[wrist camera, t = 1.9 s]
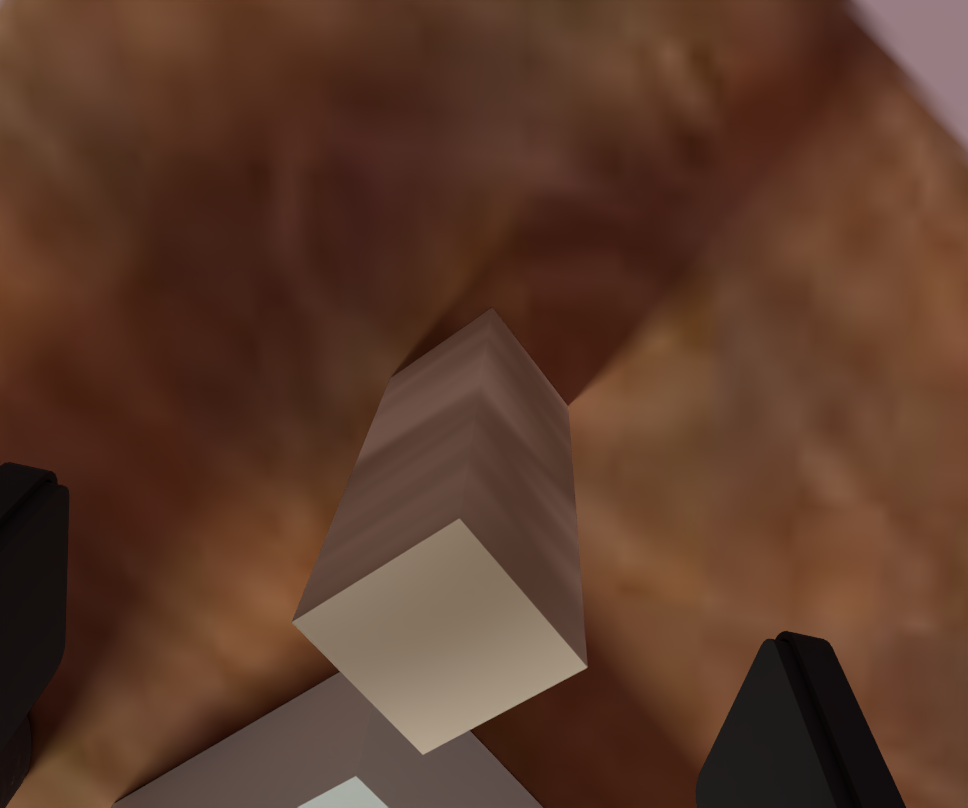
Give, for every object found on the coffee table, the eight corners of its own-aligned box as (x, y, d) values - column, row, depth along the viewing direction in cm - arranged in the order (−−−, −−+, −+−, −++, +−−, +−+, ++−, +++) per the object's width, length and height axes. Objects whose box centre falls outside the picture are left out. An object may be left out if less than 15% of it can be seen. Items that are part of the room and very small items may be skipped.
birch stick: (568, 406, 21) (587, 667, 12) (466, 470, 22) (422, 755, 13) (492, 307, 20) (459, 517, 12) (389, 378, 21) (291, 622, 12)
